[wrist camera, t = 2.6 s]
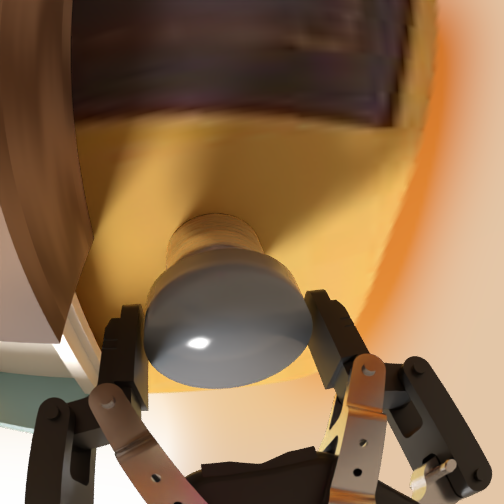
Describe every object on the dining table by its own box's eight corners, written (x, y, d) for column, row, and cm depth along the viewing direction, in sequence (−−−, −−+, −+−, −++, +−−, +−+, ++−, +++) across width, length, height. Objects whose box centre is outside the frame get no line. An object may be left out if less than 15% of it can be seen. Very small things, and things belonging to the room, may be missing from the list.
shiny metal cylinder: (162, 216, 14) (157, 271, 11) (263, 211, 15) (287, 262, 12) (171, 293, 17) (172, 351, 13) (256, 286, 18) (273, 341, 14)
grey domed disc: (132, 254, 10) (126, 289, 9) (310, 243, 11) (329, 274, 10) (158, 361, 14) (159, 393, 12) (287, 348, 15) (297, 378, 14)
